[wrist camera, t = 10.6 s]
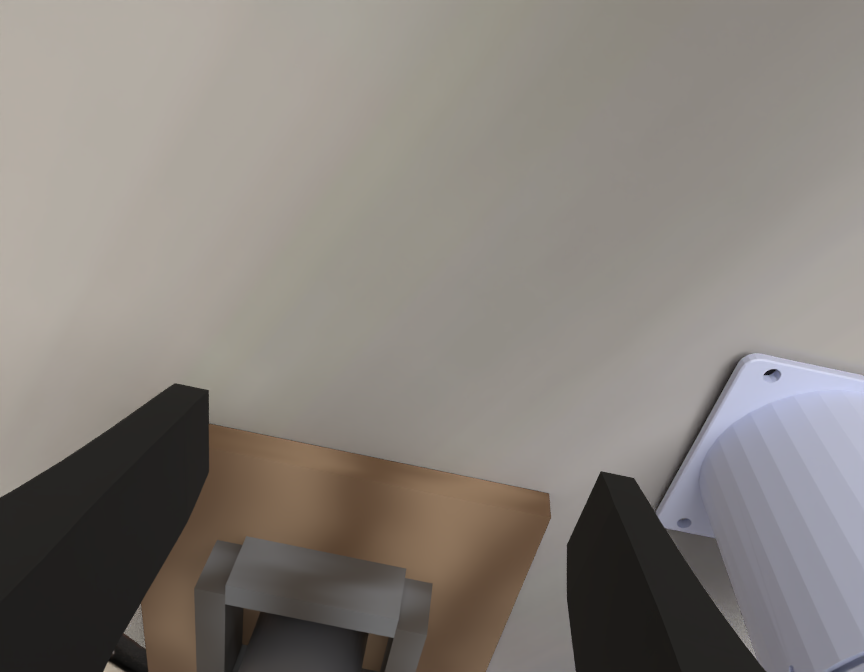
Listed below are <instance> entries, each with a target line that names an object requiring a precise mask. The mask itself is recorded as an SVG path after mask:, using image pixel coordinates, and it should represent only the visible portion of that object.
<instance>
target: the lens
mask: <svg viewBox="0 0 864 672" xmlns="http://www.w3.org/2000/svg"><path fill="white" fill-rule="evenodd" d="M368 635H369V633H366V632H361V631H356V630H351V629H346V628H341V627H336V626H331V625H326V624H321V623H316V622H311V621H306V620H301V619H296V618H291V617H286V616H281V615H276V614H271V613H266V612H261V611H260V614H259V617H258V620H257V622H256V625H255V628H254V630H253V633H252V636H251V638H250V641H249V644H248V647H247V649H246V652H245V655H244V657H243V660H242V663H241V665H240V668H239V671H238V672H361V670H362V665H363V660H364V655H365V650H366V645H367V640H368Z"/></svg>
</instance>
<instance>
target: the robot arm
mask: <svg viewBox="0 0 864 672" xmlns="http://www.w3.org/2000/svg"><path fill="white" fill-rule="evenodd" d="M771 369H776V371H775V372H774V373H773V374H770V375H764V373H765V372H766V371H768V370H771ZM208 473H209V390H205V389H200V388H195V387H190V386H185V385H181V384H176V383H175V384H173V385H172V386H170V387H169V388H167V389H166V390H164V391H163V392H161V393H160V394H158V395H157V396H156V397H154V398H153V399H151V400H150V401H149V402H147V403H146V404H144V405H143V406H142V407H140V408H139V409H137V410H136V411H135V412H133V413H132V414H130V415H129V416H127V417H126V418H125V419H123V420H122V421H120V422H119V423H117V424H116V425H115V426H113V427H112V428H110V429H109V430H107V431H106V432H104V433H103V434H101V435H100V436H98V437H97V438H95V439H94V440H92V441H91V442H89V443H88V444H87V445H85V446H84V447H82V448H81V449H79V450H78V451H76V452H75V453H73V454H72V455H70V456H68V457H67V458H65V459H64V460H62V461H61V462H59V463H57V464H56V465H54V466H52V467H51V468H49V469H48V470H46V471H44V472H43V473H41V474H39V475H38V476H36V477H34V478H33V479H31V480H30V481H28V482H26V483H25V484H23V485H21V486H20V487H18V488H16V489H15V490H13V491H11V492H10V493H8V494H6V495H4V496H2V497H1V498H0V672H103V671H104V669H105V667H106V665H107V663H108V661H109V659H110V657H111V655H112V653H113V651H114V649H115V647H116V645H117V644H118V642H119V640H120V638H121V636H122V634H123V633H124V631H125V629H126V627H127V626H128V624H129V622H130V621H131V619H132V617H133V615H134V614H135V612H136V610H137V609H138V607H139V605H140V603H141V602H142V600H143V598H144V597H145V595H146V593H147V591H148V590H149V588H150V586H151V585H152V583H153V581H154V580H155V578H156V576H157V574H158V573H159V571H160V569H161V568H162V566H163V564H164V562H165V561H166V559H167V557H168V555H169V554H170V552H171V550H172V549H173V547H174V545H175V543H176V542H177V540H178V538H179V536H180V535H181V533H182V531H183V529H184V528H185V526H186V524H187V522H188V520H189V518H190V516H191V513H192V511H193V509H194V507H195V504H196V502H197V500H198V497H199V495H200V493H201V490H202V488H203V485H204V483H205V481H206V478H207V476H208ZM682 518H686V519H683V520H680V519H682ZM665 528H667V529H672V530H677V531H682V532H686V533H691V534H696V535H701V536H706V537H711V538H716V541H717V544H718V547H719V550H720V553H721V556H722V559H723V562H724V564H725V567H726V570H727V573H728V576H729V579H730V582H731V585H732V588H733V591H734V593H735V596H736V599H737V602H738V605H739V608H740V611H741V614H742V617H743V620H744V622H745V625H746V628H747V631H748V634H749V637H750V640H751V643H752V646H753V649H754V651H755V654H756V657H757V660H758V661H757V660H756V659H755V657H754V656H753V655H752V653H751V652H750V651H749V650H748V648H747V647H746V646H745V644H744V643H743V642H742V641H741V639H740V638H739V637H738V635H737V634H736V632H735V631H734V630H733V628H732V627H731V626H730V624H729V623H728V622H727V620H726V619H725V618H724V616H723V615H722V613H721V612H720V611H719V609H718V608H717V607H716V605H715V604H714V602H713V601H712V599H711V598H710V597H709V595H708V594H707V592H706V591H705V589H704V588H703V587H702V585H701V584H700V582H699V581H698V579H697V578H696V576H695V575H694V573H693V572H692V570H691V569H690V567H689V566H688V564H687V562H686V561H685V559H684V558H683V556H682V555H681V553H680V552H679V550H678V549H677V547H676V545H675V544H674V542H673V541H672V539H671V537H670V536H669V534H668V533H667V531H666V529H665ZM567 602H568V611H569V619H570V628H571V636H572V644H573V652H574V660H575V668H576V672H864V375H859V374H854V373H850V372H845V371H840V370H836V369H831V368H826V367H821V366H817V365H812V364H807V363H802V362H798V361H793V360H788V359H783V358H779V357H774V356H769V355H764V354H757V353H753V354H750V355H747V356H745V357H743V358H742V359H741V360H740V361H739V362H738V364H737V366H736V367H735V369H734V371H733V373H732V375H731V376H730V378H729V380H728V382H727V384H726V386H725V387H724V389H723V391H722V393H721V395H720V396H719V398H718V400H717V402H716V404H715V405H714V407H713V409H712V411H711V413H710V414H709V416H708V418H707V420H706V422H705V424H704V425H703V427H702V429H701V431H700V433H699V434H698V436H697V438H696V440H695V442H694V443H693V445H692V447H691V449H690V451H689V452H688V454H687V456H686V458H685V460H684V461H683V463H682V465H681V467H680V469H679V471H678V472H677V474H676V476H675V478H674V480H673V481H672V483H671V485H670V487H669V489H668V490H667V492H666V494H665V496H664V498H663V499H662V501H661V503H660V505H659V507H658V509H657V510H656V513H655V512H654V510H653V508H652V507H651V505H650V503H649V502H648V500H647V499H646V497H645V495H644V494H643V492H642V490H641V489H640V487H639V486H638V484H637V482H636V481H635V479H634V478H631V477H626V476H621V475H616V474H611V473H606V472H602V471H601V472H600V474H599V476H598V479H597V481H596V483H595V485H594V487H593V489H592V492H591V494H590V496H589V498H588V500H587V503H586V505H585V507H584V509H583V511H582V513H581V516H580V518H579V520H578V522H577V524H576V526H575V529H574V531H573V533H572V535H571V537H570V539H569V542H568V544H567Z"/></svg>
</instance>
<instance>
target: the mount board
mask: <svg viewBox="0 0 864 672" xmlns="http://www.w3.org/2000/svg"><path fill="white" fill-rule="evenodd" d="M550 519H551V512H550V500H549V494H548V493H543V492H539V491H534V490H529V489H524V488H519V487H514V486H509V485H505V484H500V483H495V482H490V481H485V480H480V479H475V478H471V477H466V476H461V475H456V474H451V473H446V472H441V471H436V470H432V469H427V468H422V467H417V466H412V465H407V464H402V463H398V462H393V461H388V460H383V459H378V458H373V457H368V456H364V455H359V454H354V453H349V452H344V451H339V450H334V449H330V448H325V447H320V446H315V445H310V444H305V443H300V442H295V441H291V440H286V439H281V438H276V437H271V436H266V435H261V434H257V433H252V432H247V431H242V430H237V429H232V428H227V427H223V426H218V425H213V424H209V473H208V476H207V478H206V481H205V483H204V485H203V488H202V490H201V493H200V495H199V497H198V500H197V502H196V504H195V507H194V509H193V511H192V513H191V516H190V518H189V520H188V522H187V524H186V526H185V528H184V529H183V531H182V533H181V535H180V536H179V538H178V540H177V542H176V543H175V545H174V547H173V549H172V550H171V552H170V554H169V555H168V557H167V559H166V561H165V562H164V564H163V566H162V568H161V569H160V571H159V573H158V574H157V576H156V578H155V580H154V581H153V583H152V585H151V586H150V588H149V590H148V591H147V593H146V595H145V597H144V598H143V600H142V602H141V607H142V617H143V626H144V635H145V644H146V654H147V663H148V672H238V671H239V668H240V665H241V663H242V660H243V657H244V655H245V652H246V649H247V647H248V644H249V641H250V638H251V636H252V633H253V630H254V628H255V625H256V622H257V620H258V617H259V614H260V611H261V612H266V613H271V614H276V615H281V616H286V617H291V618H296V619H301V620H306V621H311V622H316V623H321V624H326V625H331V626H336V627H341V628H346V629H351V630H356V631H361V632H366V633H369V635H368V640H367V645H366V650H365V655H364V660H363V665H362V670H361V672H486V670H487V667H488V665H489V663H490V660H491V658H492V655H493V653H494V651H495V648H496V646H497V644H498V641H499V639H500V637H501V634H502V632H503V630H504V627H505V625H506V622H507V620H508V618H509V615H510V613H511V611H512V608H513V606H514V604H515V601H516V599H517V597H518V594H519V592H520V589H521V587H522V585H523V582H524V580H525V578H526V575H527V573H528V571H529V568H530V566H531V564H532V561H533V559H534V556H535V554H536V552H537V549H538V547H539V545H540V542H541V540H542V538H543V535H544V533H545V531H546V528H547V526H548V523H549V521H550Z"/></svg>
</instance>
